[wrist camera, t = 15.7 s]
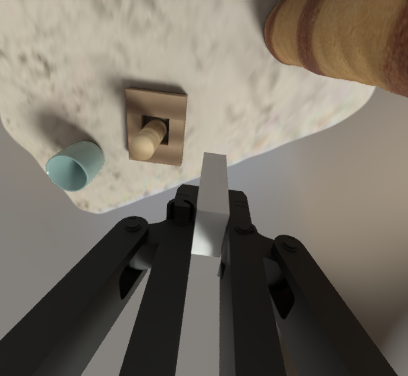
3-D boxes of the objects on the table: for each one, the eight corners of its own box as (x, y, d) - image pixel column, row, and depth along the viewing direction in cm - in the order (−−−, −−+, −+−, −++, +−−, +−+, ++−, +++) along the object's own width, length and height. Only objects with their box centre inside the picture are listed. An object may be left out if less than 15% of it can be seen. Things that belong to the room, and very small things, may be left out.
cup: (92, 130, 49) (65, 147, 41) (116, 160, 53) (96, 182, 44) (66, 146, 52) (36, 166, 43) (91, 174, 55) (67, 197, 46)
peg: (148, 116, 47) (128, 135, 37) (168, 118, 47) (153, 138, 37) (148, 135, 49) (129, 158, 39) (167, 137, 49) (153, 161, 39)
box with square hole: (129, 86, 44) (125, 88, 42) (187, 94, 45) (185, 97, 42) (132, 154, 52) (129, 159, 50) (182, 161, 52) (180, 166, 50)
